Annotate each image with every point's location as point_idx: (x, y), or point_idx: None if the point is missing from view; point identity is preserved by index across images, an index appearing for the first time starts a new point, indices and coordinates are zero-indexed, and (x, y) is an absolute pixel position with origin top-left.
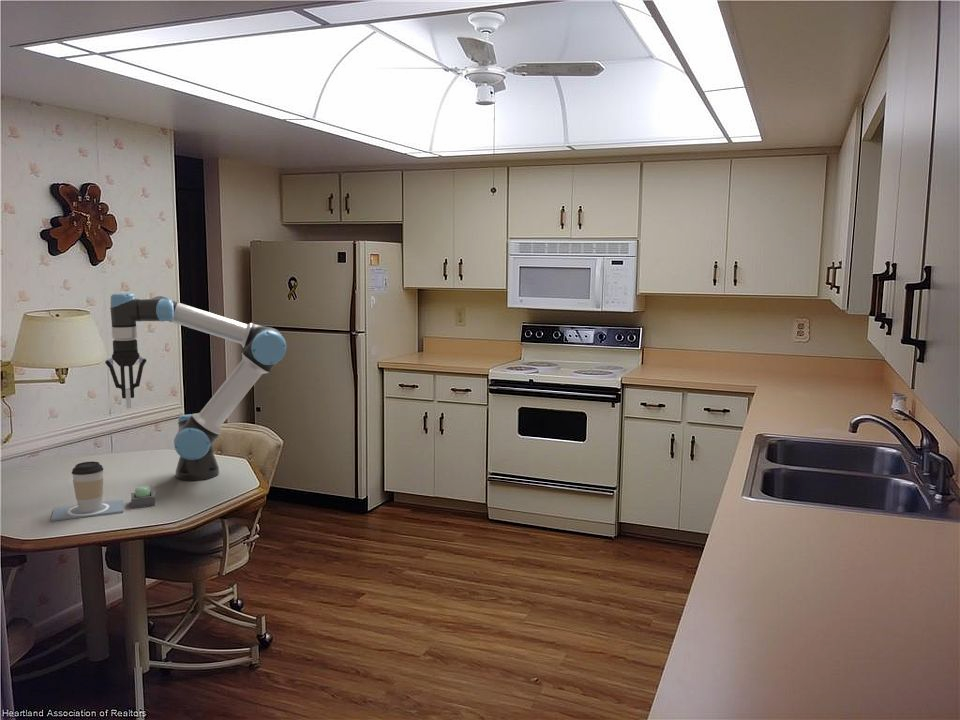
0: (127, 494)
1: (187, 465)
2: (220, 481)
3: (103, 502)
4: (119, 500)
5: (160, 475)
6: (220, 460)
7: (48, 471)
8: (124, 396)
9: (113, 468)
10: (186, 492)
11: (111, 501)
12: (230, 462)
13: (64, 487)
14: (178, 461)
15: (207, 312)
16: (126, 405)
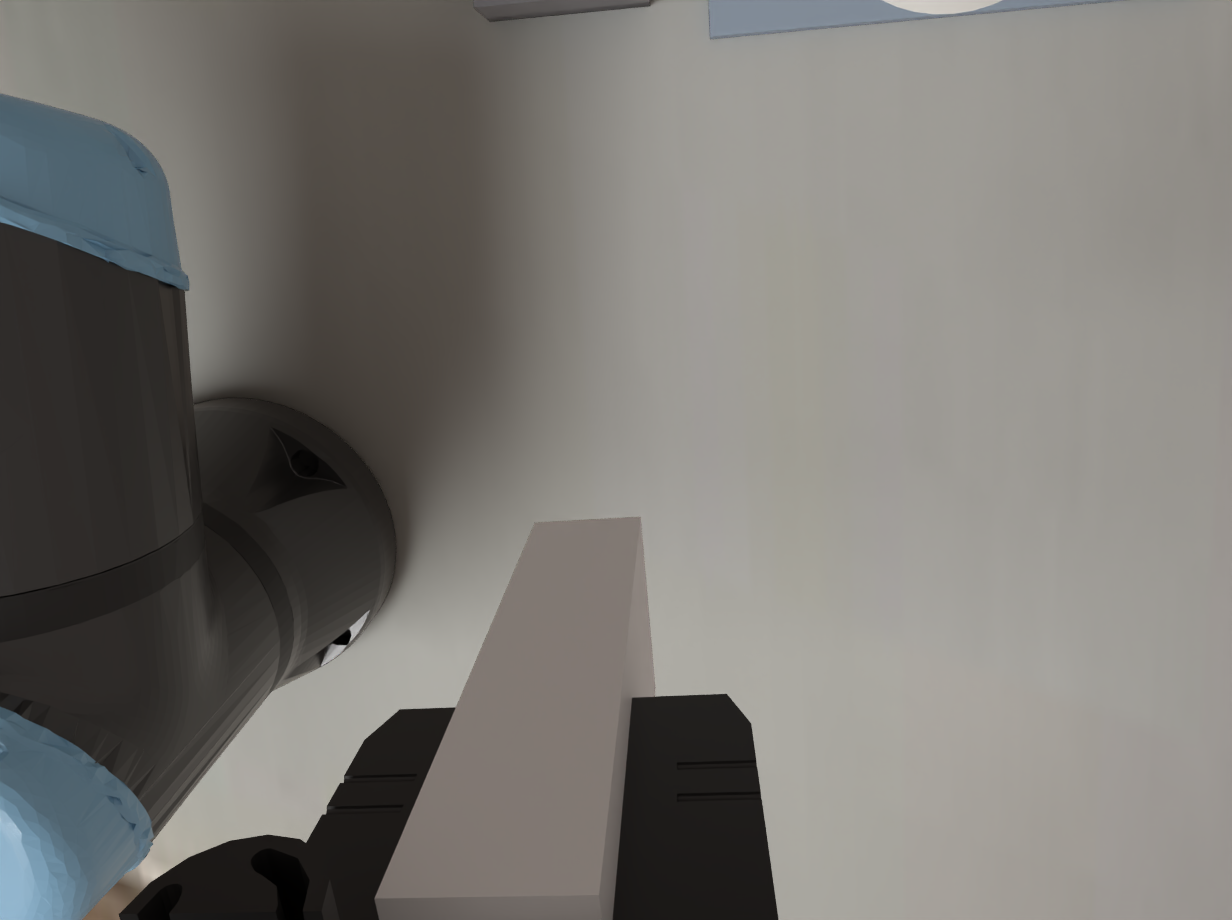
0: (688, 217)
1: (255, 468)
2: None
3: (851, 3)
4: (736, 20)
5: (499, 602)
6: None
7: (1189, 913)
8: (669, 737)
9: (801, 847)
10: (279, 124)
11: (793, 12)
12: None
13: (1107, 537)
14: (332, 581)
15: None
16: (632, 547)
